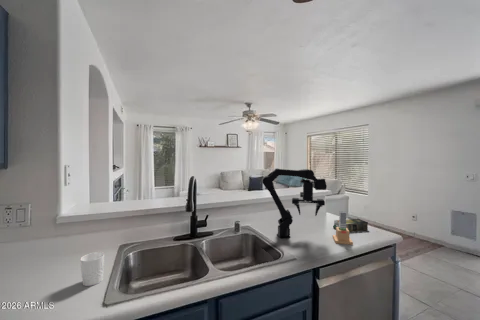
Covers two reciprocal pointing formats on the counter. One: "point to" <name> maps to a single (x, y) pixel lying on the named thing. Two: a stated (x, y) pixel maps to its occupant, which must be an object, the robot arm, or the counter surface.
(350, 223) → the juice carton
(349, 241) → the jack stand base
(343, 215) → the jack stand column
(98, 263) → the white cup
